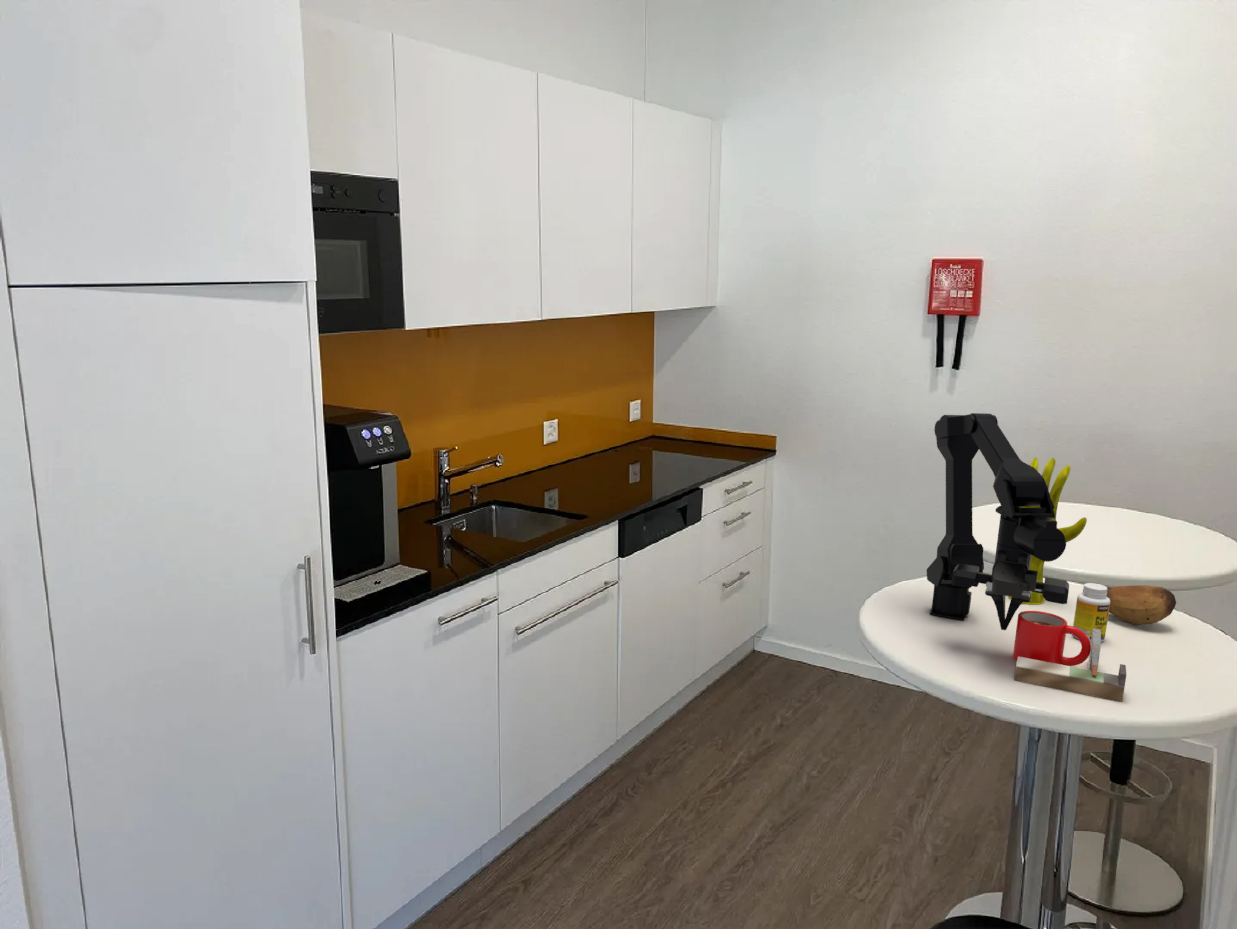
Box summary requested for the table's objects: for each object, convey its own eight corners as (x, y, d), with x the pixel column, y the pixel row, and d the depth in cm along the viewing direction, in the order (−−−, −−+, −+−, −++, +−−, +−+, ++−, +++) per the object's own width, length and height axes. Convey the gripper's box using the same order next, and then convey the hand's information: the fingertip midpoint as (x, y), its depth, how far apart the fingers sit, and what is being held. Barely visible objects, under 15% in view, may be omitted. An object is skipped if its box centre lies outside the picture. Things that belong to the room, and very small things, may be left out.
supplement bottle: (1093, 646, 175) (1101, 592, 173) (1065, 636, 179) (1072, 584, 177) (1110, 640, 178) (1118, 588, 176) (1082, 630, 182) (1089, 579, 180)
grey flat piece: (1088, 690, 155) (1093, 655, 154) (1088, 660, 167) (1092, 628, 166) (1096, 692, 154) (1101, 657, 153) (1095, 662, 167) (1100, 629, 165)
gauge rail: (1014, 680, 158) (1017, 654, 157) (1016, 670, 162) (1019, 645, 161) (1122, 701, 152) (1126, 674, 151) (1121, 691, 156) (1125, 665, 155)
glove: (992, 596, 200) (1009, 456, 194) (1005, 587, 207) (1022, 451, 201) (1067, 614, 191) (1087, 468, 185) (1078, 605, 197) (1098, 462, 191)
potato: (1101, 633, 190) (1104, 602, 195) (1179, 634, 182) (1180, 602, 187) (1094, 608, 187) (1097, 578, 192) (1173, 609, 179) (1174, 576, 184)
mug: (1085, 679, 160) (1092, 635, 158) (1009, 663, 165) (1014, 620, 164) (1089, 664, 166) (1095, 621, 165) (1016, 648, 172) (1021, 607, 171)
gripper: (952, 546, 162) (942, 633, 165) (1073, 565, 154) (1060, 655, 157) (960, 532, 172) (950, 614, 175) (1074, 548, 164) (1062, 634, 167)
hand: (1003, 629), depth 169 cm, fingers closed
